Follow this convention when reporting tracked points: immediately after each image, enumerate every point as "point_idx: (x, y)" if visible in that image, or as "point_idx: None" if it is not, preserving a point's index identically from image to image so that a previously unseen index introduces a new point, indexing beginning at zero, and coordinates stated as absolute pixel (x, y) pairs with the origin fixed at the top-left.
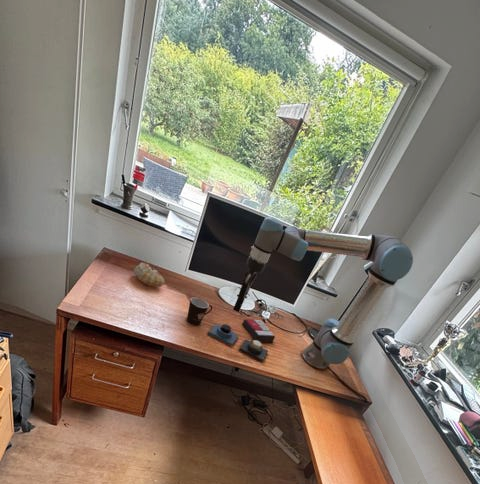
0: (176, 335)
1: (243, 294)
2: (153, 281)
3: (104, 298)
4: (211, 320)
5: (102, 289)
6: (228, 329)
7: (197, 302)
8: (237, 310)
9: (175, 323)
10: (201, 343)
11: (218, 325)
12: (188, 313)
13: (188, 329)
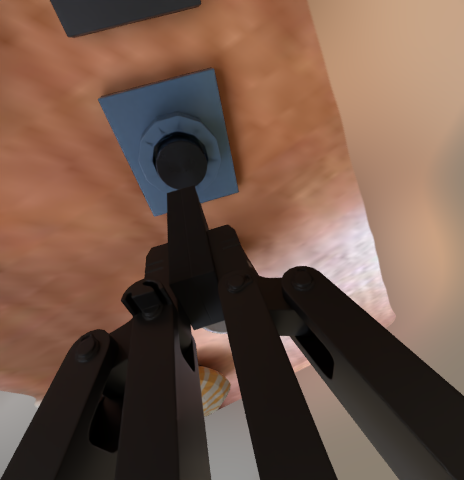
0: (332, 222)
1: (378, 337)
2: (216, 378)
3: None
4: (137, 240)
5: (301, 355)
6: (192, 147)
7: None
8: (199, 202)
9: (280, 260)
10: (310, 160)
11: (154, 205)
12: None
13: (273, 230)
